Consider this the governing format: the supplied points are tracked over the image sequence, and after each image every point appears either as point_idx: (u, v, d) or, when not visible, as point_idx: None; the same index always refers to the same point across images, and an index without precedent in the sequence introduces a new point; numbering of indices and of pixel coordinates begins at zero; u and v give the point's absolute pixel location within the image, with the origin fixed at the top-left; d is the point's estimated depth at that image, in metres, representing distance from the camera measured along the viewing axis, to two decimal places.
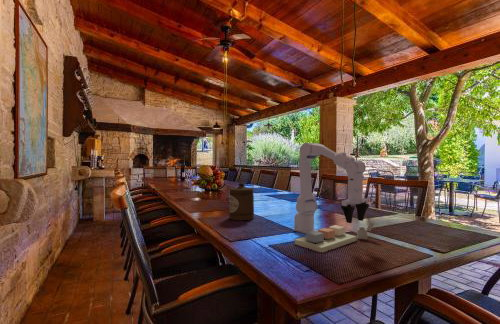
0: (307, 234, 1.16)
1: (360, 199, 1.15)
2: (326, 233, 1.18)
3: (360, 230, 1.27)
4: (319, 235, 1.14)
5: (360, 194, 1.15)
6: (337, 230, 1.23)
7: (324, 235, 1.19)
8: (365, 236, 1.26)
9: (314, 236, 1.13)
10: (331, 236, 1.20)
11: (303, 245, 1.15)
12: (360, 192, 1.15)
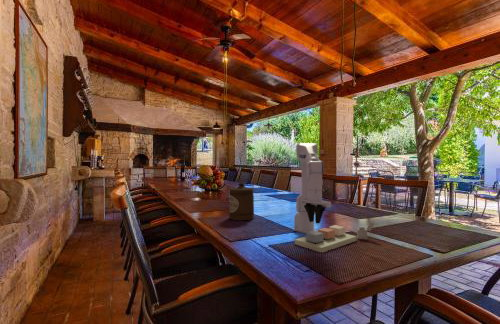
0: (307, 234, 1.16)
1: (310, 199, 1.14)
2: (326, 233, 1.18)
3: (360, 230, 1.27)
4: (319, 235, 1.14)
5: (310, 195, 1.14)
6: (337, 230, 1.23)
7: (324, 235, 1.19)
8: (365, 236, 1.26)
9: (314, 236, 1.13)
10: (331, 236, 1.20)
11: (303, 245, 1.15)
12: (309, 192, 1.14)
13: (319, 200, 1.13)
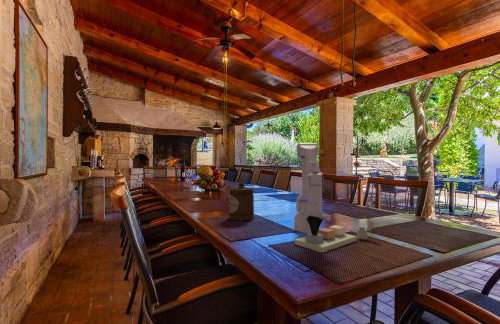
0: (307, 236, 1.16)
1: (309, 212, 1.15)
2: (326, 233, 1.18)
3: (360, 230, 1.27)
4: (319, 237, 1.14)
5: (310, 207, 1.14)
6: (337, 230, 1.23)
7: (324, 235, 1.19)
8: (365, 236, 1.26)
9: (314, 238, 1.13)
10: (331, 236, 1.20)
11: (303, 245, 1.15)
12: (309, 205, 1.15)
13: (319, 213, 1.14)
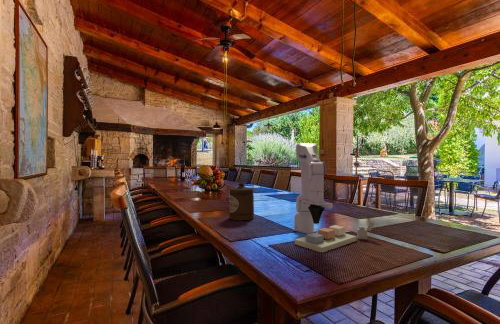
0: (307, 236, 1.16)
1: (311, 200, 1.15)
2: (326, 233, 1.18)
3: (360, 230, 1.27)
4: (319, 237, 1.14)
5: (311, 196, 1.15)
6: (337, 230, 1.23)
7: (324, 235, 1.19)
8: (365, 236, 1.26)
9: (314, 238, 1.13)
10: (331, 236, 1.20)
11: (303, 245, 1.15)
12: (311, 193, 1.15)
13: (321, 201, 1.14)
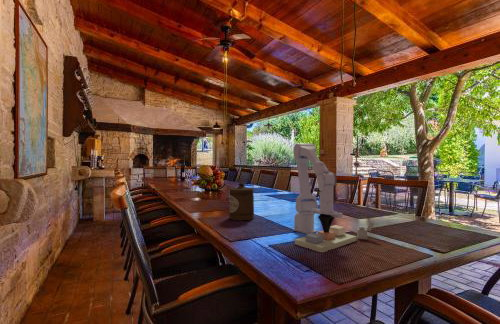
0: (307, 236, 1.16)
1: (321, 210, 1.20)
2: (326, 235, 1.18)
3: (360, 230, 1.27)
4: (319, 237, 1.14)
5: (322, 206, 1.19)
6: (337, 230, 1.23)
7: (324, 237, 1.19)
8: (365, 236, 1.26)
9: (314, 238, 1.13)
10: (331, 238, 1.20)
11: (303, 245, 1.15)
12: (321, 203, 1.20)
13: (331, 211, 1.19)
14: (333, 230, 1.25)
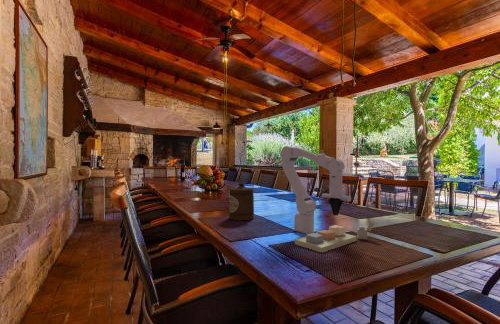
0: (307, 236, 1.16)
1: (331, 194, 1.28)
2: (326, 235, 1.18)
3: (360, 230, 1.27)
4: (319, 237, 1.14)
5: (331, 190, 1.28)
6: (337, 230, 1.23)
7: (324, 237, 1.19)
8: (365, 236, 1.26)
9: (314, 238, 1.13)
10: (331, 238, 1.20)
11: (303, 245, 1.15)
12: (331, 188, 1.28)
13: (340, 195, 1.27)
14: (333, 230, 1.25)
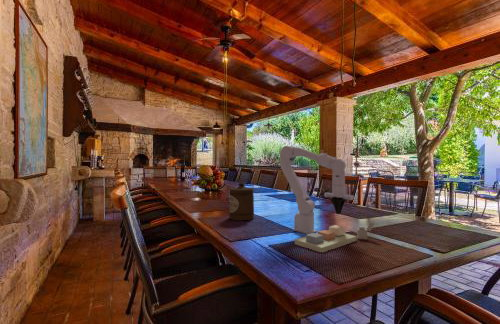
0: (307, 236, 1.16)
1: (334, 193, 1.30)
2: (326, 235, 1.18)
3: (360, 230, 1.27)
4: (319, 237, 1.14)
5: (334, 189, 1.30)
6: (337, 230, 1.23)
7: (324, 237, 1.19)
8: (365, 236, 1.26)
9: (314, 238, 1.13)
10: (331, 238, 1.20)
11: (303, 245, 1.15)
12: (334, 187, 1.30)
13: (343, 194, 1.29)
14: (333, 230, 1.25)
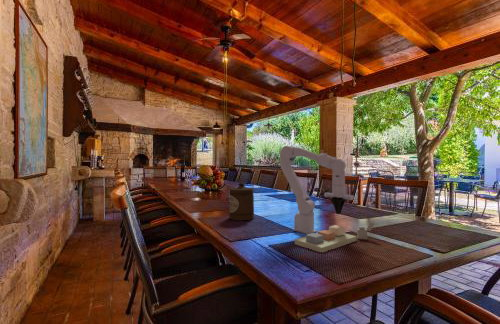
0: (307, 236, 1.16)
1: (334, 193, 1.30)
2: (326, 235, 1.18)
3: (360, 230, 1.27)
4: (319, 237, 1.14)
5: (334, 189, 1.30)
6: (337, 230, 1.23)
7: (324, 237, 1.19)
8: (365, 236, 1.26)
9: (314, 238, 1.13)
10: (331, 238, 1.20)
11: (303, 245, 1.15)
12: (334, 187, 1.30)
13: (343, 194, 1.29)
14: (333, 230, 1.25)
